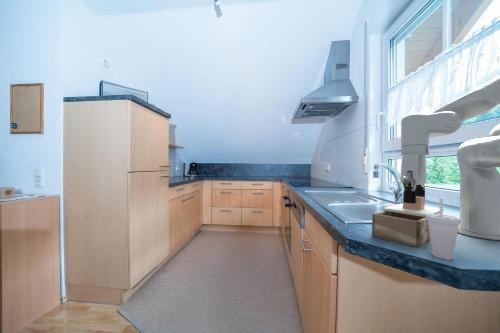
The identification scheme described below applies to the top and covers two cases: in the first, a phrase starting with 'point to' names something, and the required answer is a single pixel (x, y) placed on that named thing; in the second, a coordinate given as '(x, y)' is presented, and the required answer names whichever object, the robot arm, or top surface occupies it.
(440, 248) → the smoothie
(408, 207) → the lid
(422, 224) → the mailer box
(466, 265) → the top surface
